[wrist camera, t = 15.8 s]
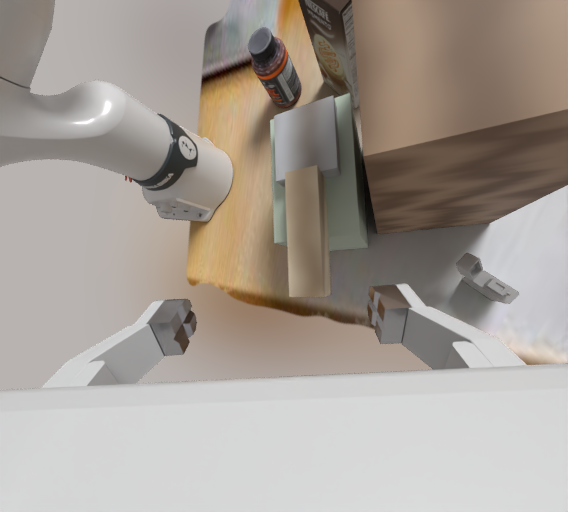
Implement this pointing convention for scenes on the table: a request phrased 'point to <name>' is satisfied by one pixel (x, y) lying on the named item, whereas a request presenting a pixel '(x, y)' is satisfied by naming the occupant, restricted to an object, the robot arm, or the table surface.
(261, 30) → the supplement bottle
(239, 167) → the table surface
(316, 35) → the coffee box
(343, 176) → the sage block
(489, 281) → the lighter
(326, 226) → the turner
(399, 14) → the walnut box
